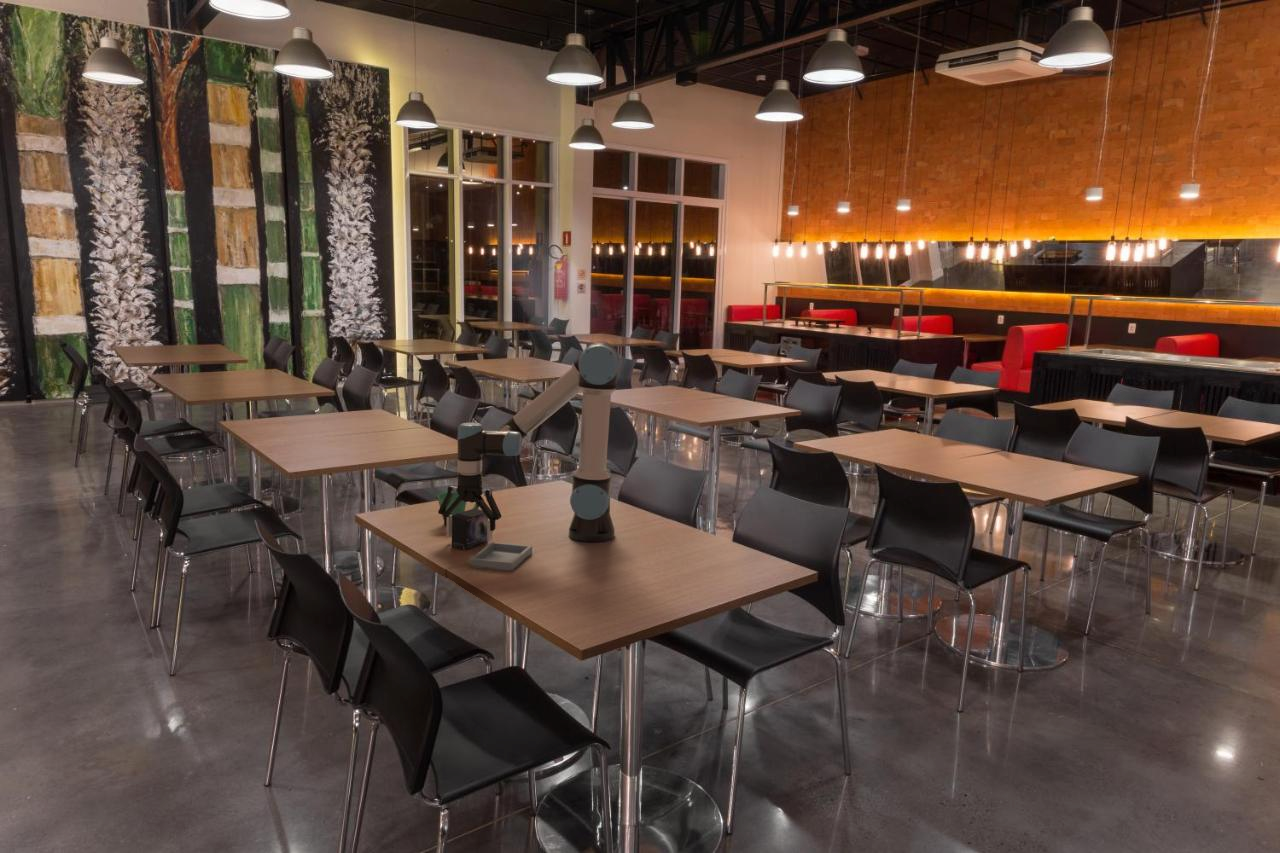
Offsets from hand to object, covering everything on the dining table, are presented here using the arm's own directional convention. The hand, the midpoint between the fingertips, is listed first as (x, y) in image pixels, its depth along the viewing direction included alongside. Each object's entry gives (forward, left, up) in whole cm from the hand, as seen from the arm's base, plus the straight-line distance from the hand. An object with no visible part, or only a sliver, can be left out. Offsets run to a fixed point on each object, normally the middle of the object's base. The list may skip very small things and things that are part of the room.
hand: (469, 538), depth 266 cm
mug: (+13, -21, -2) cm, 25 cm away
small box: (0, 0, -2) cm, 2 cm away
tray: (-15, +11, -2) cm, 19 cm away
